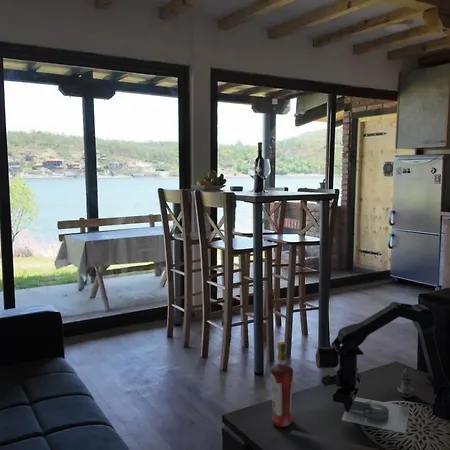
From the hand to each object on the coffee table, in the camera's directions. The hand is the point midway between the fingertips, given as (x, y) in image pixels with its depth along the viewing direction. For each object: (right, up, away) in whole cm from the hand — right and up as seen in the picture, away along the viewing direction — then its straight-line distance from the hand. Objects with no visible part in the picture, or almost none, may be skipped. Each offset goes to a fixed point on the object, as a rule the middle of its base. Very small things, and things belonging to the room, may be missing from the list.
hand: (347, 411), depth 160 cm
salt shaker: (+25, -2, +15) cm, 29 cm away
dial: (+7, -2, +3) cm, 8 cm away
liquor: (-22, -4, 0) cm, 22 cm away
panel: (+11, -3, +3) cm, 11 cm away
